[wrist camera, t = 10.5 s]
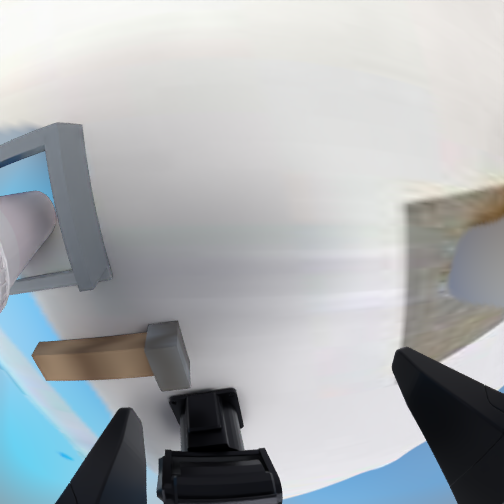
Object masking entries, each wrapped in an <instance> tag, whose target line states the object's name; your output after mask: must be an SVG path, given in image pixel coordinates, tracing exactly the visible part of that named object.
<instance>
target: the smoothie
mask: <svg viewBox="0 0 504 504" xmlns="http://www.w3.org/2000/svg"><path fill="white" fill-rule="evenodd" d="M55 223H56V213H55V208H54V206H53V203H52V202H51V200H50V199H49V197H48V196H46V195H45V194H43V193H42V192H39V191H30V192H23V193H17V194H11V195H5V196H0V313H1V312H2V310H3V308H4V307H5V306H6V303H7V300H8V297H9V293H10V288H11V287H12V285H13V284H14V282H15V281H16V279H17V278H18V276H19V275H20V273H21V272H22V271H23V269H24V268H25V266H26V265H27V264H28V262H29V261H30V260H31V258H32V257H33V256H34V254H35V253H36V252H37V250H38V249H39V248H40V246H41V245H42V244H43V243H44V241H45V240H46V239H47V238H48V236H49V235H50V234H51V233H52V231H53V229H54V227H55Z"/></svg>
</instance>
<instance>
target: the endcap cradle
mask: <svg viewBox="0 0 504 504" xmlns="http://www.w3.org/2000/svg"><path fill="white" fill-rule="evenodd" d="M43 151H45V152H46V159H47V165H48V171H49V178H50V183H51V188H52V193H53V198H54V203H55V208H56V212H57V216H58V221H59V225H60V229H61V232H62V236H63V240H64V244H65V247H66V251H67V254H68V257H69V261H70V264H71V267H72V270H69V271H63V272H57V273H52V274H46V275H40V276H35V277H29V278H23V279H18V280H16V281H15V282H14V284H13V285H12V287H11V288H10V293H9V295H13V294H20V293H27V292H33V291H40V290H47V289H53V288H60V287H66V286H73V285H78V288H79V291H87V290H93V289H94V288H95V286H96V284H97V283H98V282H99V281H106V280H111V278H112V272H111V269H110V265H109V262H108V258H107V254H106V251H105V247H104V243H103V239H102V235H101V231H100V227H99V222H98V218H97V214H96V209H95V204H94V199H93V194H92V189H91V184H90V178H89V172H88V166H87V160H86V153H85V146H84V138H83V129H82V125H80V124H70V123H58V122H57V123H54V124H51V125H48V126H46V127H43V128H40V129H38V130H35V131H32V132H30V133H27V134H25V135H23V136H20V137H18V138H15V139H13V140H11V141H8V142H6V143H4V144H2V145H0V168H1V167H4V166H6V165H8V164H11V163H14V162H16V161H19V160H21V159H24V158H27V157H29V156H32V155H35V154H38V153H40V152H43Z"/></svg>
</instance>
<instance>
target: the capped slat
mask: <svg viewBox="0 0 504 504" xmlns="http://www.w3.org/2000/svg"><path fill="white" fill-rule="evenodd" d="M32 357H33V359H34V361H35V363H36V364H37V366H38V368H39V369H40V371H41V373H42V374H43V376H44V378H45V379H46V381H71V380H72V381H73V380H74V381H75V380H104V379H121V378H135V377H147V376H155V379H156V381H157V383H158V386H159V388H160V390H161V391H171V390H180V389H188V388H190V361H189V358H188V355H187V351H186V348H185V345H184V341H183V338H182V334H181V331H180V327H179V323H178V321H172V322H165V323H158V324H150V325H148V331H147V332H145V333H137V334H128V335H119V336H109V337H99V338H88V339H76V340H63V341H48V342H39V343H38V345H37V347H36V348H35V350H34V352H33V354H32Z"/></svg>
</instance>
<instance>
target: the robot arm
mask: <svg viewBox="0 0 504 504" xmlns="http://www.w3.org/2000/svg"><path fill="white" fill-rule="evenodd" d="M392 371H393V373H394V376H395V378H396V380H397V383H398V385H399V387H400V390H401V392H402V395H403V397H404V399H405V402H406V404H407V406H408V408H409V410H410V411H411V413H412V415H413V417H414V419H415V420H416V422H417V424H418V426H419V428H420V430H421V431H422V433H423V435H424V437H425V439H426V441H427V443H428V444H429V446H430V448H431V450H432V452H433V454H434V456H435V458H436V460H437V462H438V464H439V466H440V468H441V469H442V472H443V474H444V476H445V478H446V480H447V482H448V484H449V486H450V488H451V490H452V492H453V494H454V496H455V499H456V501H457V503H458V504H504V393H501V392H499V391H497V390H495V389H492V388H490V387H488V386H486V385H485V386H484V384H482V383H480V382H478V381H476V380H474V379H472V378H470V377H468V376H466V375H464V374H462V373H459V372H457V371H455V370H453V369H451V368H449V367H447V366H445V365H443V364H441V363H439V362H437V361H435V360H433V359H431V358H429V357H427V356H425V355H423V354H421V353H419V352H417V351H415V350H413V349H411V348H409V347H403V348H400V349H398V350H397V351H396V352H395V355H394V359H393V363H392ZM174 401H175V402H174ZM169 404H170V406H171V408H172V410H173V412H174V414H175V416H176V419H177V421H178V423H179V425H180V435H181V451H171V450H165V456H164V457H162V458H160V459H159V475H158V484H157V497H158V498H159V499H160V500H162V501H163V502H164V504H282V498H283V497H282V487H281V483H280V479H279V477H278V474H277V472H276V470H275V468H274V466H273V464H272V462H271V460H270V458H269V456H268V454H267V452H266V450H265V448H259V449H257V450H244V445H243V440H242V436H241V431H240V429H241V428H243V427H244V425H243V420H242V416H241V411H240V406H239V402H238V397H237V392H236V390H235V389H227V390H221V391H214V392H207V393H200V394H192V395H184V396H175V397H171V398H170V399H169ZM55 504H147V495H146V458H145V449H144V439H143V427H142V423H141V420H140V419H139V418H138V416H137V415H136V413H135V412H134V410H133V409H132V408H130V407H128V408H120V409H119V410H118V411H117V412H116V414H115V415H114V417H113V418H112V420H111V421H110V423H109V424H108V426H107V427H106V429H105V430H104V432H103V433H102V435H101V436H100V437H99V439H98V440H97V442H96V443H95V445H94V446H93V448H92V449H91V451H90V452H89V454H88V455H87V457H86V458H85V460H84V461H83V463H82V464H81V466H80V468H79V469H78V471H77V472H76V473H75V475H74V477H73V478H72V480H71V481H70V483H69V484H68V486H67V487H66V489H65V490H64V492H63V493H62V494H61V496H60V498H59V499H58V500H57V502H56V503H55Z"/></svg>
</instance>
